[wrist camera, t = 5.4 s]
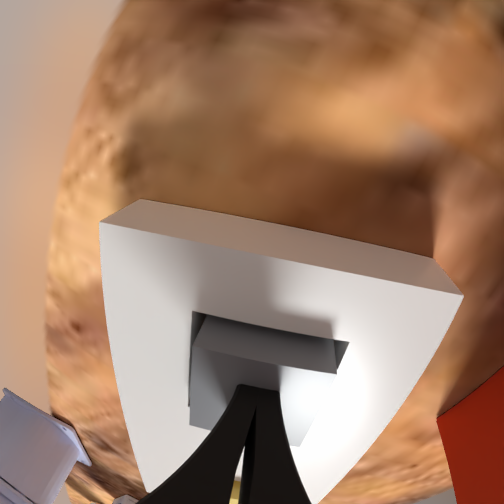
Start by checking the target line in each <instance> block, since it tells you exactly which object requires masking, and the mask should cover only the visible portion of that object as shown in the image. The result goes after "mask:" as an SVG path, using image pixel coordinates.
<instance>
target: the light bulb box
mask: <svg viewBox="0 0 504 504" xmlns="http://www.w3.org/2000/svg"><path fill="white" fill-rule="evenodd" d="M138 501H139V500H137V499H135V498H133V497H131V496H129V495H124V496H121V497H119V498H116V499H114V501H113V503H112V504H135V503H137V502H138Z"/></svg>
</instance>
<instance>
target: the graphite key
mask: <svg viewBox="0 0 504 504" xmlns="http://www.w3.org/2000/svg"><path fill="white" fill-rule="evenodd" d="M336 376H337V368H336V358H335V348H334V339H329V338H323V337H317V336H311V335H306V334H300V333H295V332H289V331H284V330H279V329H274V328H269V327H264V326H259V325H254V324H250V323H245V322H240V321H236V320H231V319H227V318H222V317H218V316H213V315H209V314H207V316H206V318H205V320H204V322H203V324H202V327H201V329H200V331H199V333H198V335H197V337H196V340H195V342H194V344H193V347H192V366H191V388H190V418H189V425H191V426H195V427H198V428H202V429H206V430H210V431H211V430H212V429H213V428H214V426H215V425H216V423H217V422H218V420H219V419H220V417H221V416H222V414H223V413H224V411H225V409H226V408H227V406H228V404H229V402H230V400H231V399H232V396H233V394H234V392H235V390H236V387H237V385H239V384H245V385H249V386H254V387H259V388H265V389H270V390H276V391H278V392H279V393H280V399H281V408H282V415H283V420H284V425H285V430H286V434H287V438H288V442H289V445H290V446H296V447H300V445H301V444H302V442H303V440H304V438H305V436H306V435H307V433H308V431H309V429H310V427H311V425H312V424H313V422H314V420H315V418H316V416H317V414H318V412H319V410H320V408H321V406H322V404H323V402H324V400H325V398H326V396H327V394H328V392H329V390H330V388H331V386H332V384H333V382H334V380H335V378H336Z"/></svg>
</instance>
